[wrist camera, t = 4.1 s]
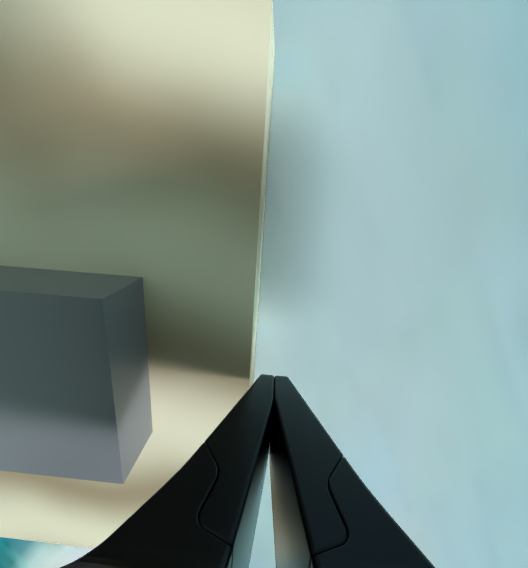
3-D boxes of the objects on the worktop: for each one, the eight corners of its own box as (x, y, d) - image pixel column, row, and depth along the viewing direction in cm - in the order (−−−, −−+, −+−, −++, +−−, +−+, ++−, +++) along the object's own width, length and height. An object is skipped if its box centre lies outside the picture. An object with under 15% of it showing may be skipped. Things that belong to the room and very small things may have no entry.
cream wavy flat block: (245, 505, 15) (238, 565, 12) (-8, 477, 15) (-63, 529, 13) (274, 53, 9) (272, -3, 6) (-140, 33, 9) (-286, -26, 7)
